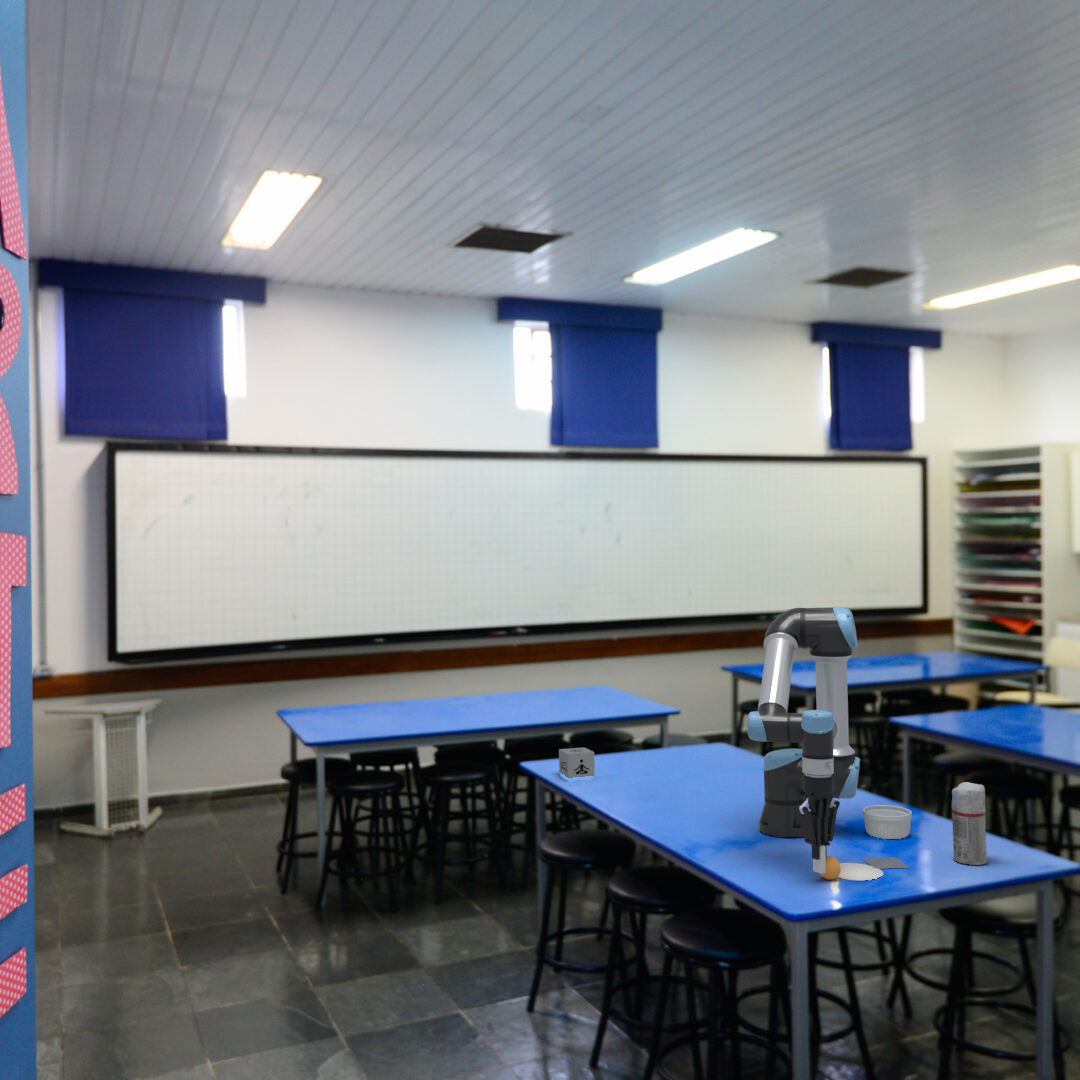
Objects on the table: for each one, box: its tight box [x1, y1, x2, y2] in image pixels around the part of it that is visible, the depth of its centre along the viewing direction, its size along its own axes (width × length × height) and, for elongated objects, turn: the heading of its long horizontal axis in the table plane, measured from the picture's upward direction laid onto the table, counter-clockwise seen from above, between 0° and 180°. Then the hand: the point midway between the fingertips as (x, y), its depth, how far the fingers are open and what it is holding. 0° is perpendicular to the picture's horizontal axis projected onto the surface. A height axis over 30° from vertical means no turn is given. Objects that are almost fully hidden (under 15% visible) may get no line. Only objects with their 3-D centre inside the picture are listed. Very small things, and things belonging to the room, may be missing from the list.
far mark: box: [861, 856, 910, 870], centre depth 261 cm, size 9×9×1 cm
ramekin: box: [862, 804, 913, 840], centre depth 288 cm, size 13×13×7 cm
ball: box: [818, 855, 841, 881], centre depth 249 cm, size 6×6×6 cm
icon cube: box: [558, 747, 596, 778], centre depth 369 cm, size 10×10×10 cm
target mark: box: [837, 862, 884, 882], centre depth 254 cm, size 14×14×1 cm
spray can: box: [951, 781, 988, 866], centre depth 262 cm, size 8×8×20 cm
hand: (819, 871), depth 247 cm, fingers closed
